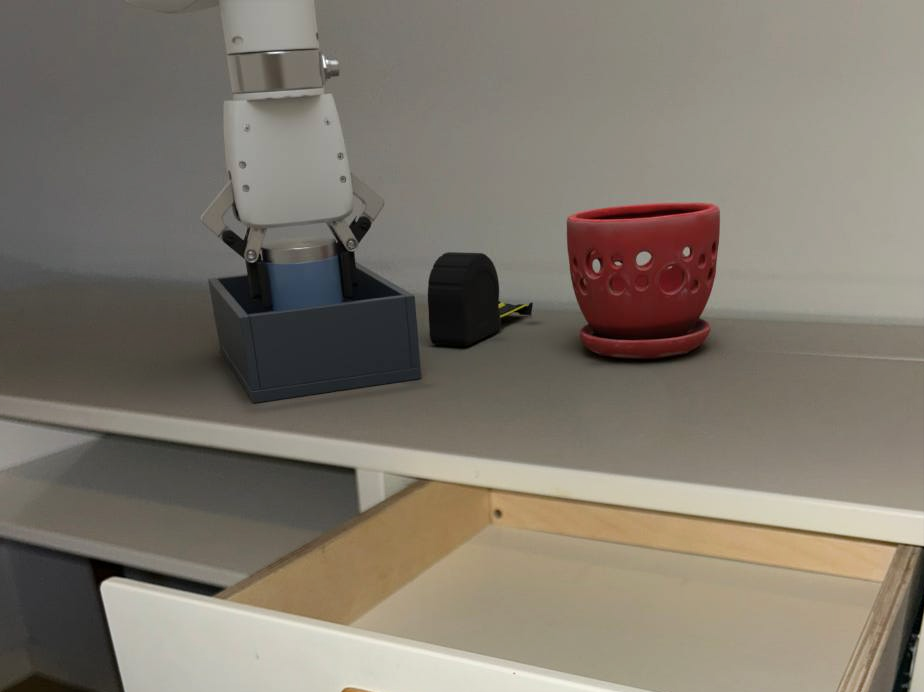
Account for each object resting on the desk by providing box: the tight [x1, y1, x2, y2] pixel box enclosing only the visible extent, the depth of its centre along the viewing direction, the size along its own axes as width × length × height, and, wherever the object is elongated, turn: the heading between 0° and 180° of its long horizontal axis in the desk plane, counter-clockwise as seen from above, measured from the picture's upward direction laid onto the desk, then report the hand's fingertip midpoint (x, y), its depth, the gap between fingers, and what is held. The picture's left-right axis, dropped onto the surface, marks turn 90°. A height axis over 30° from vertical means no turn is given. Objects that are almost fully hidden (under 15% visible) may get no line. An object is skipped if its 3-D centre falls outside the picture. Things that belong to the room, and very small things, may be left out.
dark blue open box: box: [207, 261, 422, 404], centre depth 97 cm, size 15×21×7 cm
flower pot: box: [566, 202, 721, 360], centre depth 94 cm, size 13×13×12 cm
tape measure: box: [427, 251, 534, 347], centre depth 105 cm, size 15×4×8 cm, turn 152°
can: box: [260, 236, 344, 311], centre depth 95 cm, size 7×7×7 cm
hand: (305, 299), depth 96 cm, fingers closed on can, 6 cm apart
